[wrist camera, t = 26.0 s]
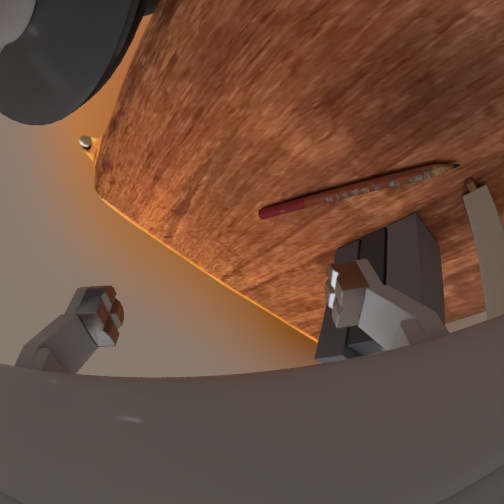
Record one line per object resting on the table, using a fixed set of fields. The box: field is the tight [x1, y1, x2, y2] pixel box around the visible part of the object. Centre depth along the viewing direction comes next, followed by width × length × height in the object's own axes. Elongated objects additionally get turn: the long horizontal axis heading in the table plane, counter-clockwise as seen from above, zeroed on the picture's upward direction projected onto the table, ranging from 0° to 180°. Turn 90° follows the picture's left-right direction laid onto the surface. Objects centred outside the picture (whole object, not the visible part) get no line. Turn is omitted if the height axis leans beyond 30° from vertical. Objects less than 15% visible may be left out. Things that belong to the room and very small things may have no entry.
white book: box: [463, 185, 504, 320], centre depth 15 cm, size 5×2×14 cm, turn 53°
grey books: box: [314, 213, 445, 363], centre depth 24 cm, size 5×10×12 cm, turn 143°
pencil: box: [258, 164, 460, 219], centre depth 23 cm, size 19×1×1 cm, turn 125°
